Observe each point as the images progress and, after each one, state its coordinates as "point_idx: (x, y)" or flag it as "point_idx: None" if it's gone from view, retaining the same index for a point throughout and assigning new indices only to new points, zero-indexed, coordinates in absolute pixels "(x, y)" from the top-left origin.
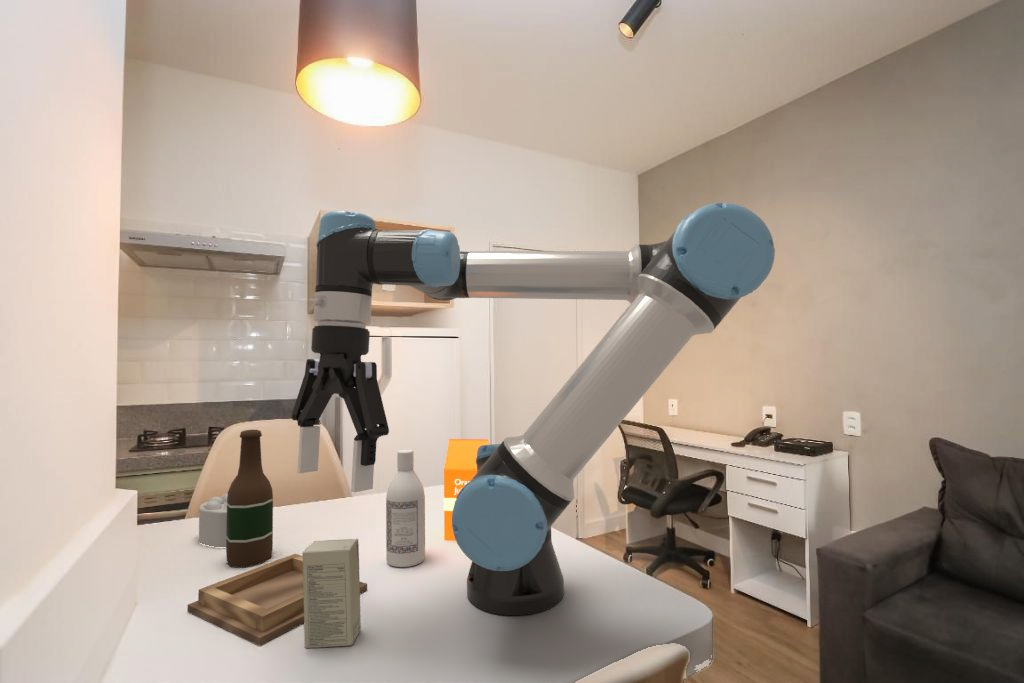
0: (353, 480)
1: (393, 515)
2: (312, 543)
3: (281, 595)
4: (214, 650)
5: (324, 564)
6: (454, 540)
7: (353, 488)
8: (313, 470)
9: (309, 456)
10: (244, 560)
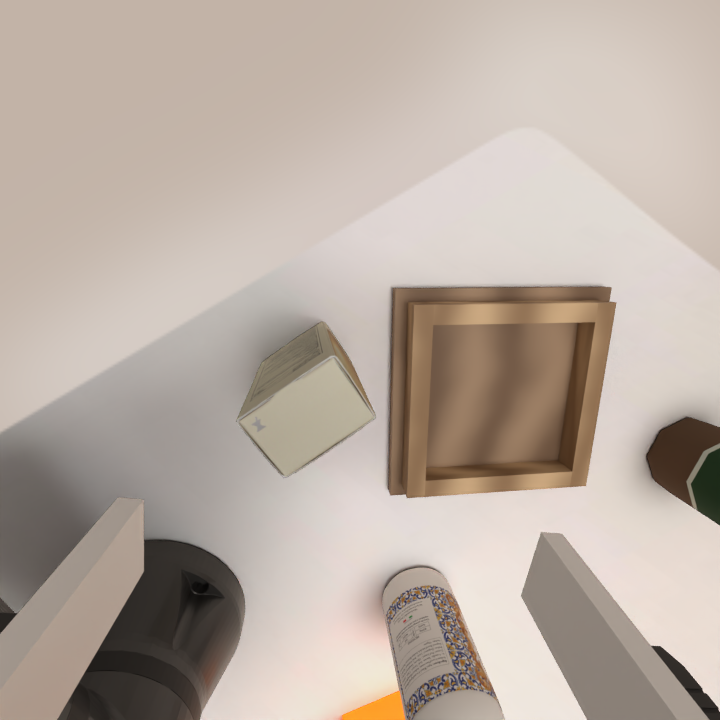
0: (101, 530)
1: (443, 656)
2: (363, 402)
3: (490, 392)
4: (445, 243)
5: (289, 375)
6: (398, 691)
7: (116, 506)
8: (528, 584)
9: (569, 623)
10: (672, 434)
